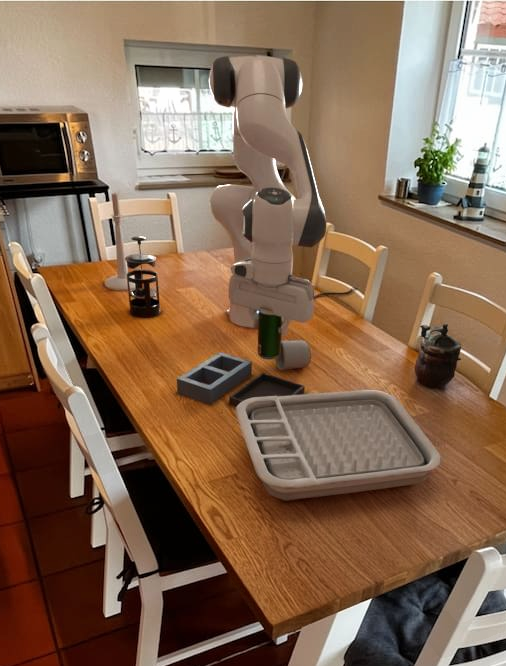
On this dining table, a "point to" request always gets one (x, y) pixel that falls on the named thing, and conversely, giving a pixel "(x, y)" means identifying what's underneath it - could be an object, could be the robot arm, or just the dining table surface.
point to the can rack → (214, 377)
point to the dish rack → (334, 443)
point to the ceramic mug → (294, 355)
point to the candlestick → (119, 253)
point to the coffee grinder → (437, 357)
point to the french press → (142, 285)
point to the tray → (266, 389)
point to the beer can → (268, 334)
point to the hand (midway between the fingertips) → (269, 330)
